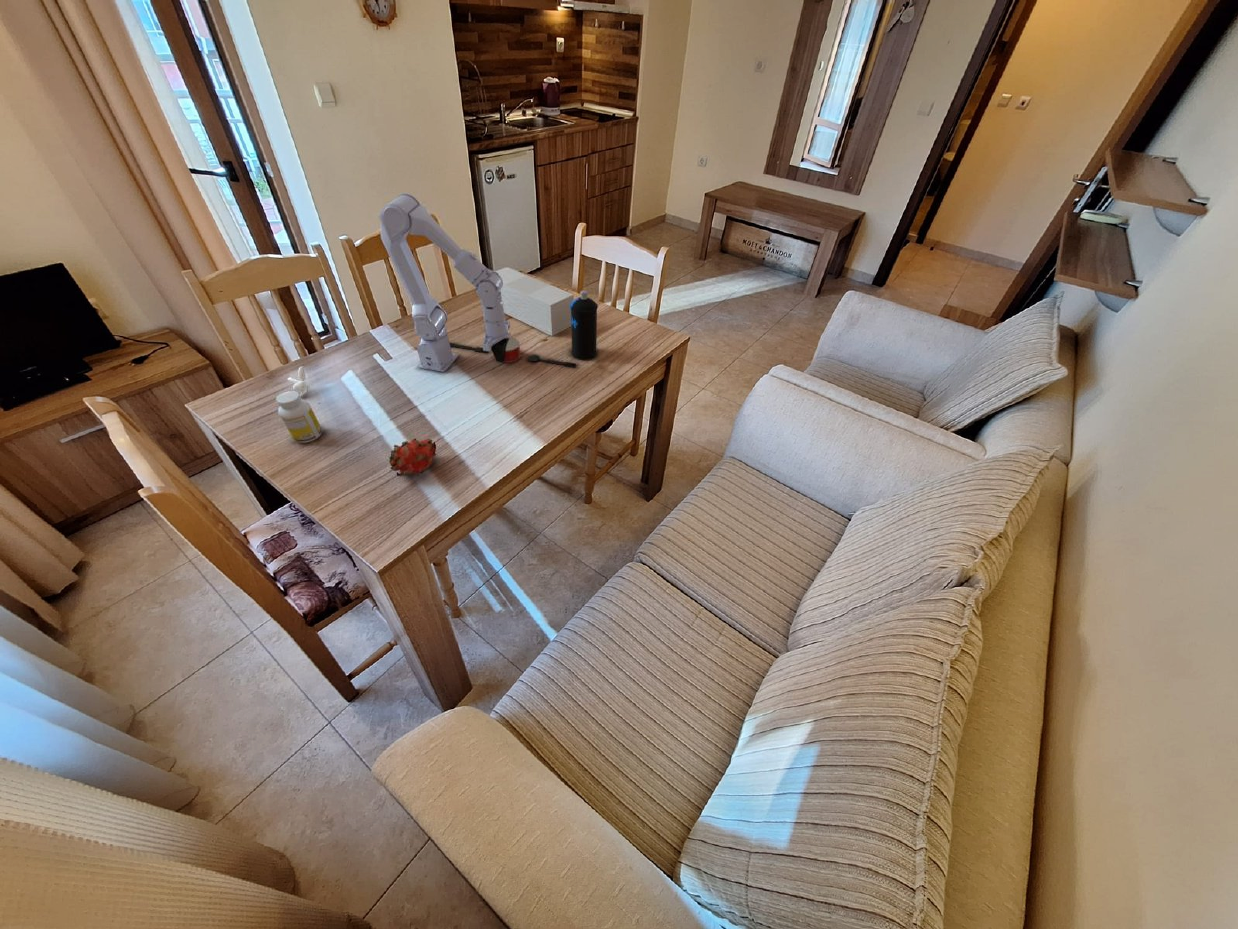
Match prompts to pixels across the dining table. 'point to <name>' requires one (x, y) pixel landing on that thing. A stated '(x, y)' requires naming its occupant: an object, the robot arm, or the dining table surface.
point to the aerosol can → (584, 327)
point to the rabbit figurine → (299, 382)
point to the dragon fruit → (412, 456)
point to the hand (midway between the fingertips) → (500, 360)
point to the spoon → (550, 361)
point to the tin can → (512, 351)
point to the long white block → (535, 302)
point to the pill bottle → (298, 417)
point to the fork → (468, 348)
